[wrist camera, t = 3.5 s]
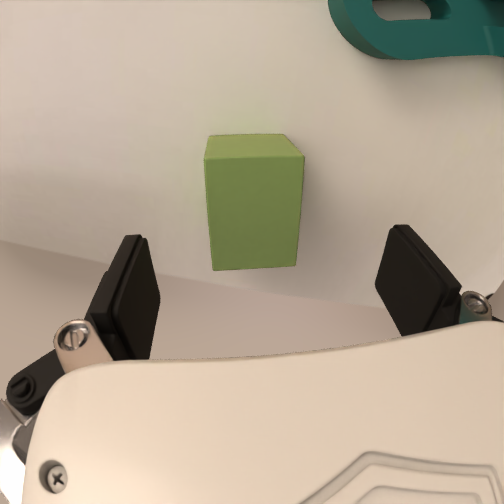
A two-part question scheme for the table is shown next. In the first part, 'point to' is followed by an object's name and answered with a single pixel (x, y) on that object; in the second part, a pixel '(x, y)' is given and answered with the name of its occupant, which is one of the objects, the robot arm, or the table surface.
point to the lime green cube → (253, 200)
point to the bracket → (424, 29)
